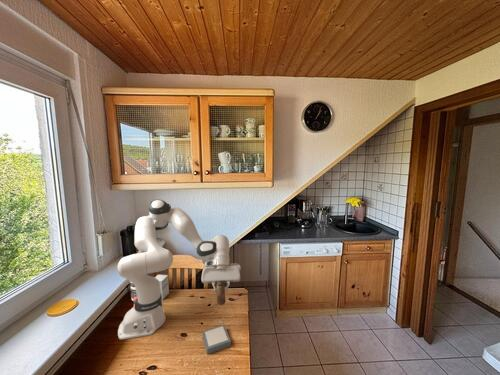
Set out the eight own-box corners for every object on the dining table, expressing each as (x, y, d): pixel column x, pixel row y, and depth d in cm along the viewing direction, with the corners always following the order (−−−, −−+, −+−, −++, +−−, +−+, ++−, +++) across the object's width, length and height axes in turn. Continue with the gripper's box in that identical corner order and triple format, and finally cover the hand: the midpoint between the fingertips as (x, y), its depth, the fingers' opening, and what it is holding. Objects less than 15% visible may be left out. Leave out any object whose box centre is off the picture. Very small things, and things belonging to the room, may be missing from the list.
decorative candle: (148, 297, 137) (144, 260, 134) (131, 303, 132) (127, 264, 129) (145, 290, 145) (142, 255, 141) (130, 295, 140) (126, 258, 136)
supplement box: (162, 300, 134) (161, 281, 133) (152, 299, 136) (150, 280, 134) (169, 293, 142) (168, 275, 140) (159, 292, 143) (158, 274, 141)
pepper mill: (218, 305, 109) (217, 285, 108) (216, 301, 113) (215, 281, 111) (226, 303, 111) (225, 283, 109) (224, 299, 114) (223, 279, 113)
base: (207, 354, 97) (207, 349, 96) (202, 336, 107) (202, 331, 106) (230, 345, 101) (230, 340, 101) (224, 329, 111) (224, 324, 111)
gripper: (240, 264, 122) (241, 291, 113) (203, 266, 120) (201, 293, 112) (240, 261, 117) (241, 288, 108) (201, 262, 115) (199, 291, 107)
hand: (220, 291), depth 110 cm, fingers closed on pepper mill, 4 cm apart
